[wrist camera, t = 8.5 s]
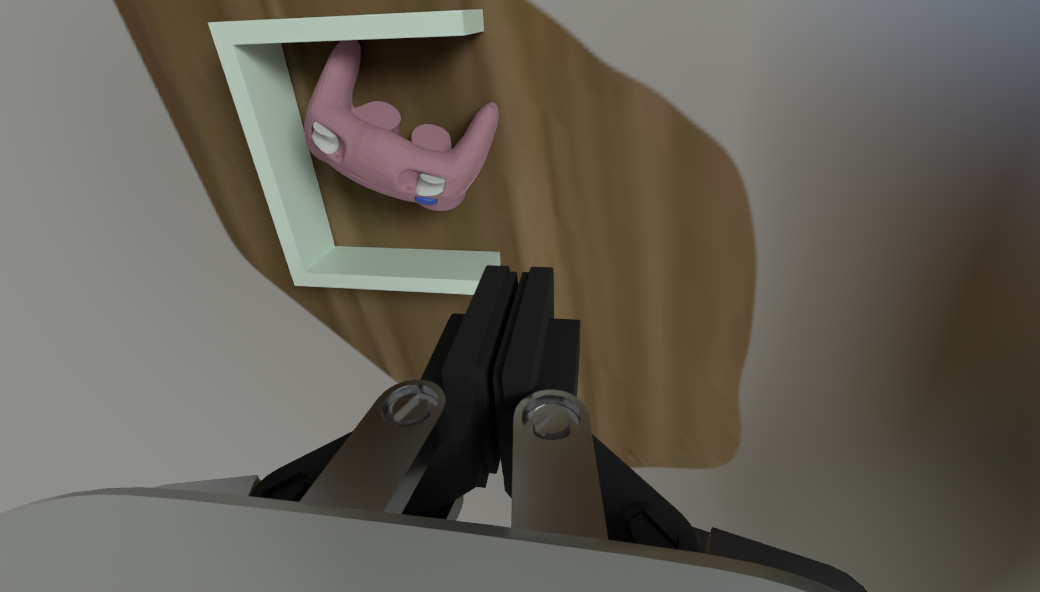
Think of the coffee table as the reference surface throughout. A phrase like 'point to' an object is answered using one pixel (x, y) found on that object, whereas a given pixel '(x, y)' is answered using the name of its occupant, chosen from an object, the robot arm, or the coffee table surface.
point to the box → (289, 166)
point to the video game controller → (391, 141)
